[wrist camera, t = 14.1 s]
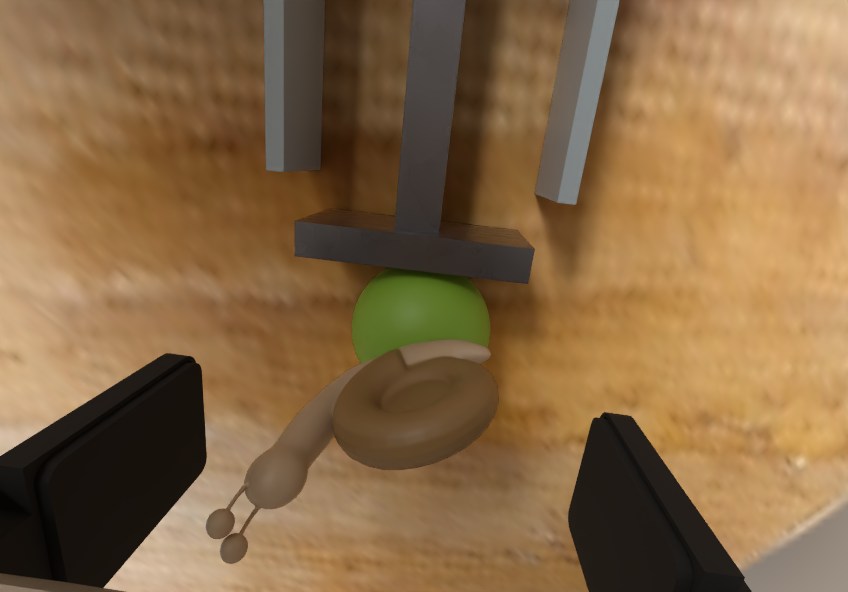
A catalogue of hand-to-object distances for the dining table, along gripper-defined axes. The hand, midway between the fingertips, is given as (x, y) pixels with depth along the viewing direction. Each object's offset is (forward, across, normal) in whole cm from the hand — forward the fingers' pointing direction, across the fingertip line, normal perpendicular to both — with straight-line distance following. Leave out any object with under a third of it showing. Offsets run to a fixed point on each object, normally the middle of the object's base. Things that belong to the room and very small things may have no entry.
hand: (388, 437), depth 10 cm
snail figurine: (+10, 0, 0) cm, 10 cm away
